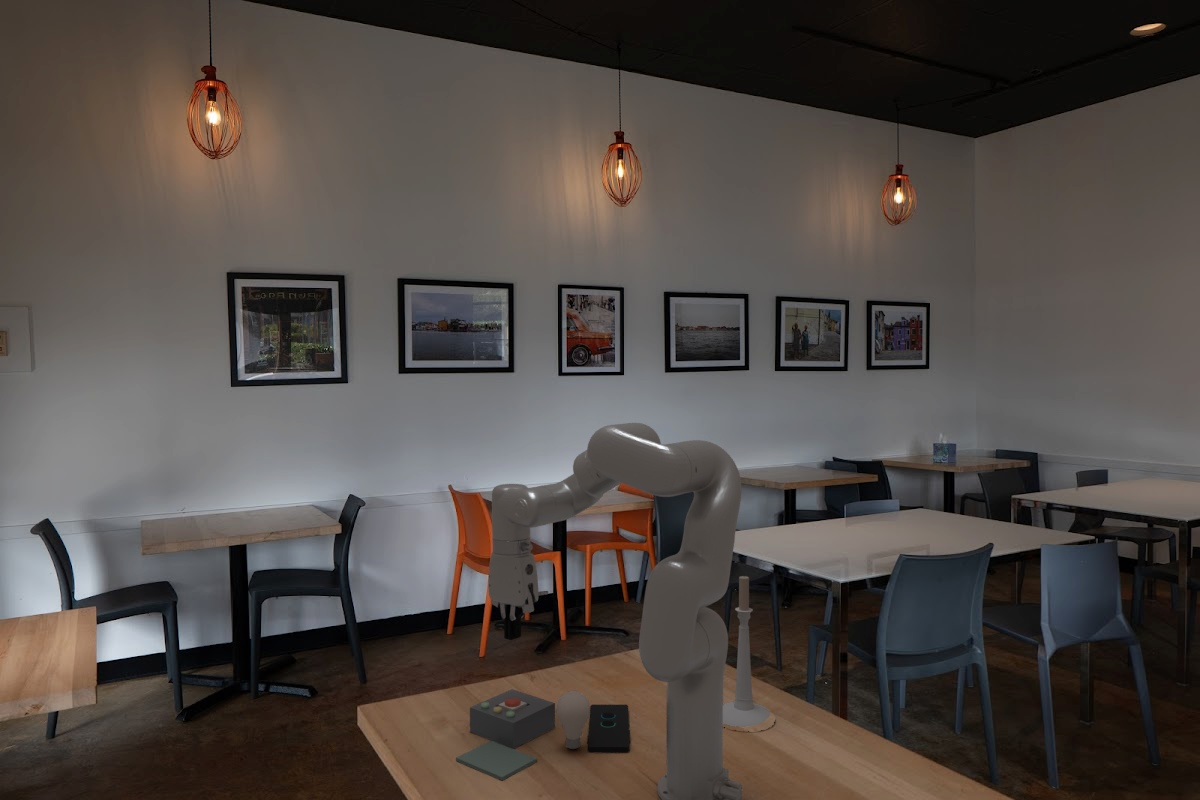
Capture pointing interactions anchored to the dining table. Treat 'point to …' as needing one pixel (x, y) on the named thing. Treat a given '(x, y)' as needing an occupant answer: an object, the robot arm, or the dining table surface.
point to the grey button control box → (512, 719)
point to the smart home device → (609, 729)
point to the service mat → (496, 760)
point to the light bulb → (573, 716)
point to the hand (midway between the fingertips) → (512, 637)
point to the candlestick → (744, 671)
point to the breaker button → (512, 704)
